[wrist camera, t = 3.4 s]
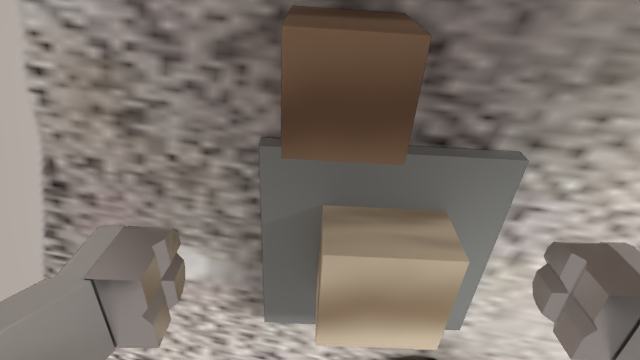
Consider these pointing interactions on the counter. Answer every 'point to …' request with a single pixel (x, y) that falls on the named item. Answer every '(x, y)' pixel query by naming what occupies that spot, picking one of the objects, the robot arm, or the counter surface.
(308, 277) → the build plate
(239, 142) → the counter surface
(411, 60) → the walnut cube
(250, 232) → the counter surface
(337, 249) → the maple base
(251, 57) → the counter surface
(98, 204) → the counter surface
